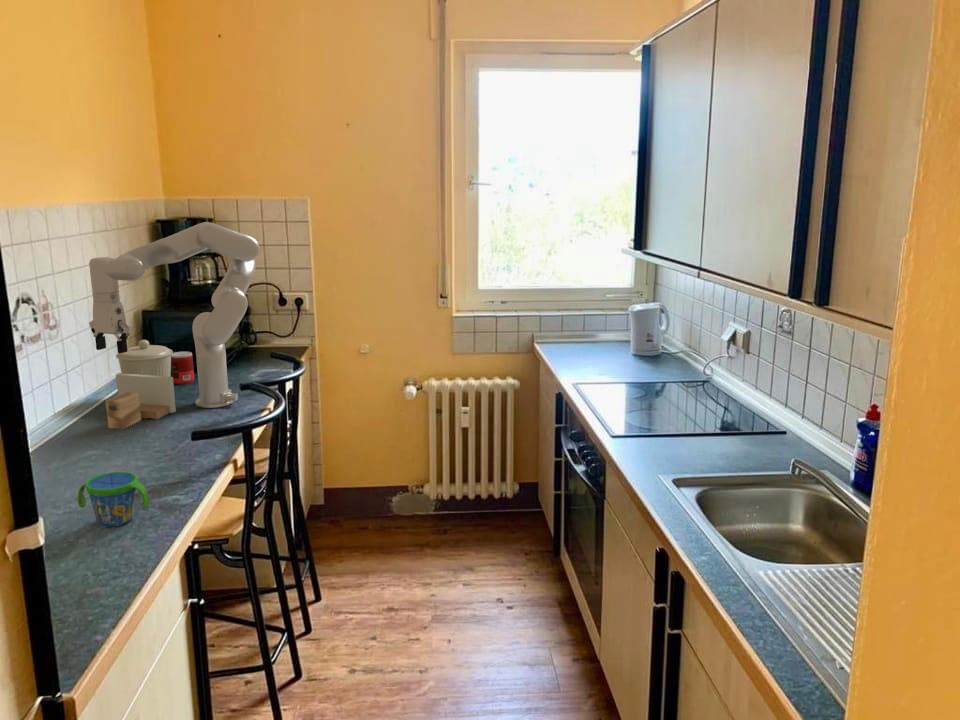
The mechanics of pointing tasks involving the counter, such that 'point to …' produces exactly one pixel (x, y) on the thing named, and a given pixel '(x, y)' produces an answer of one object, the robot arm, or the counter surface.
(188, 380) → the canned food
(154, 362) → the canister
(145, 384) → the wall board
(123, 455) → the counter surface
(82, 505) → the snack cup
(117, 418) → the oak box
